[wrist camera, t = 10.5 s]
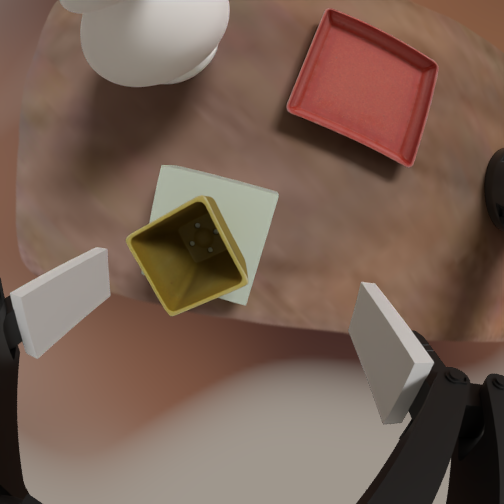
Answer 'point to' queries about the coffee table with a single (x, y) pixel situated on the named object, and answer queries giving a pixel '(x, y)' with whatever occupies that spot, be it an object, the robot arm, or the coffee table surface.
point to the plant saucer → (365, 86)
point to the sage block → (222, 211)
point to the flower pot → (189, 256)
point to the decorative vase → (150, 38)
